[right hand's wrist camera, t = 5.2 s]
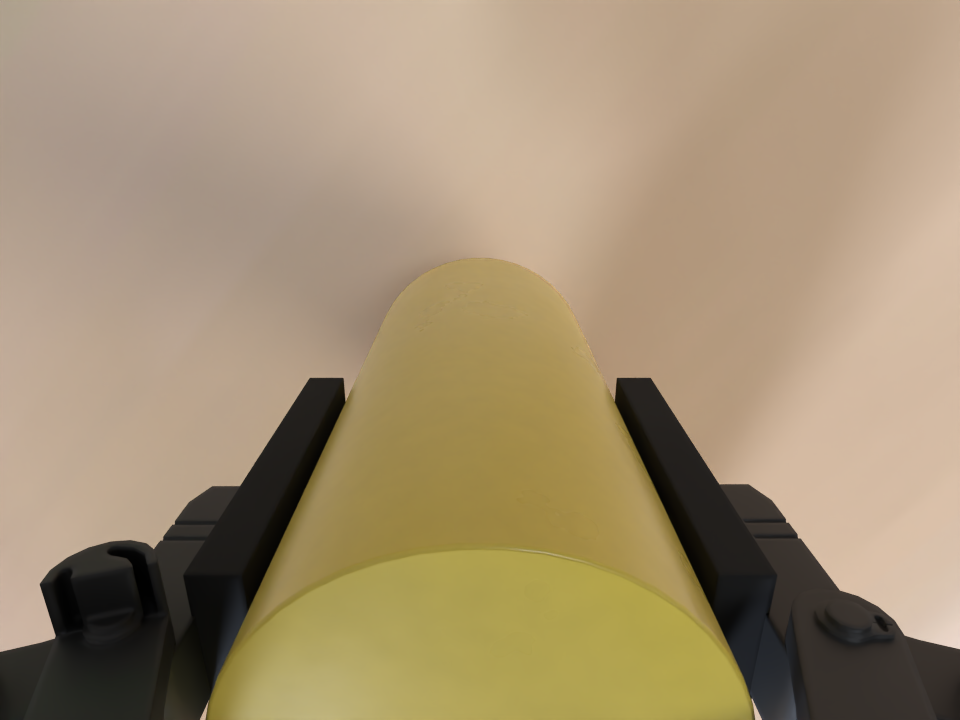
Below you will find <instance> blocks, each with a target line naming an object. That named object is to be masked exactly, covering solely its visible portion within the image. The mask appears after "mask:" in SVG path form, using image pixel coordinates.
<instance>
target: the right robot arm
mask: <svg viewBox="0 0 960 720" xmlns="http://www.w3.org/2000/svg"><path fill="white" fill-rule="evenodd" d="M615 404H616V406H617V408H618V410H619V412H620V414H621V417H622V419H623V421H624V423H625V425H626V427H627V429H628V432H629V434H630V436H631V438H632V440H633V442H634V444H635V447H636V449H637V451H638V453H639V455H640V457H641V459H642V461H643V464H644V466H645V468H646V470H647V472H648V474H649V476H650V479H651V481H652V483H653V485H654V487H655V489H656V491H657V494H658V496H659V498H660V500H661V502H662V504H663V506H664V508H665V511H666V513H667V515H668V517H669V519H670V521H671V523H672V526H673V528H674V530H675V532H676V534H677V536H678V538H679V541H680V543H681V545H682V547H683V549H684V551H685V553H686V555H687V558H688V560H689V562H690V564H691V566H692V568H693V570H694V573H695V575H696V577H697V579H698V581H699V583H700V585H701V588H702V590H703V592H704V594H705V596H706V598H707V600H708V602H709V605H710V607H711V609H712V611H713V613H714V615H715V617H716V620H717V622H718V624H719V626H720V628H721V630H722V632H723V635H724V637H725V639H726V641H727V643H728V645H729V647H730V649H731V652H732V654H733V656H734V658H735V660H736V662H737V664H738V667H739V669H740V671H741V673H742V675H743V677H744V680H745V683H746V686H747V689H748V691H749V694H750V697H751V699H753V701H754V703H755V705H756V707H757V709H758V712H759V714H760V716H761V718H762V720H960V649H956V648H952V647H947V646H943V645H938V644H934V643H930V642H925V641H921V640H917V639H914V638H910V637H907V636H904V634H903V633H902V631H901V630H900V628H899V627H898V625H897V623H896V622H895V620H893V619H892V618H891V617H890V616H889V615H887V614H886V613H885V612H884V611H883V610H881V609H880V608H879V607H878V606H876V605H874V604H872V603H870V602H868V601H866V600H864V599H862V598H861V597H859V596H856V595H852V594H849V593H846V592H843V591H840V590H839V589H838V588H837V586H836V585H835V584H834V582H833V581H832V580H831V578H830V577H829V576H828V574H827V573H826V572H825V570H824V569H823V568H822V566H821V565H820V564H819V562H818V561H817V560H816V558H815V557H814V556H813V554H812V553H811V552H810V550H809V549H808V548H807V546H806V545H805V544H804V542H803V541H802V540H801V539H798V536H797V533H796V532H795V531H794V529H793V528H792V527H791V525H790V524H789V523H786V519H785V517H784V516H783V515H782V513H781V512H780V511H779V509H778V508H777V507H776V505H775V504H774V503H773V501H772V500H770V499H769V498H767V497H766V496H765V495H763V494H762V493H760V492H759V491H757V490H756V489H754V488H753V487H751V486H750V485H749V484H719V483H718V482H717V480H716V479H715V477H714V476H713V474H712V473H711V471H710V470H709V468H708V466H707V465H706V463H705V462H704V460H703V459H702V457H701V456H700V454H699V452H698V451H697V449H696V448H695V446H694V445H693V443H692V442H691V440H690V438H689V437H688V435H687V434H686V432H685V431H684V429H683V428H682V426H681V425H680V423H679V421H678V420H677V418H676V417H675V415H674V414H673V412H672V411H671V409H670V407H669V406H668V404H667V403H666V401H665V400H664V398H663V397H662V395H661V393H660V392H659V390H658V389H657V387H656V386H655V384H654V383H653V381H652V380H651V378H617V384H616V395H615ZM344 405H345V390H344V379H343V378H310V379H309V380H308V382H307V383H306V385H305V386H304V388H303V389H302V391H301V393H300V394H299V396H298V397H297V399H296V400H295V402H294V403H293V405H292V407H291V408H290V410H289V411H288V413H287V414H286V416H285V417H284V419H283V421H282V422H281V424H280V425H279V427H278V428H277V430H276V431H275V433H274V434H273V436H272V438H271V439H270V441H269V442H268V444H267V445H266V447H265V448H264V450H263V452H262V453H261V455H260V456H259V458H258V459H257V461H256V462H255V464H254V466H253V467H252V469H251V470H250V472H249V473H248V475H247V476H246V478H245V480H244V481H243V483H242V484H241V486H212V487H211V488H209V489H208V490H206V491H205V492H203V493H202V494H201V495H199V496H198V497H196V498H195V499H193V500H192V501H190V502H189V503H188V504H187V506H186V507H185V508H184V510H183V511H182V512H181V514H180V515H179V516H178V518H177V519H176V520H175V525H172V526H171V527H170V528H169V530H168V531H167V533H166V534H165V535H164V537H163V541H160V542H159V543H158V545H157V546H156V547H155V549H153V548H151V547H150V546H149V545H148V544H147V543H142V542H137V541H132V540H127V541H113V542H108V543H104V544H100V545H96V546H93V547H89V548H87V549H85V550H83V551H80V552H78V553H76V554H74V555H72V556H70V557H68V558H66V559H65V560H64V561H62V562H61V563H59V564H58V565H57V566H55V567H54V568H53V569H51V570H50V571H49V573H48V574H47V575H46V577H45V578H44V579H43V580H42V582H41V583H40V587H41V590H42V593H43V596H44V600H45V603H46V606H47V609H48V612H49V616H50V619H51V622H52V625H53V628H54V632H55V635H56V637H55V639H52V640H49V641H45V642H42V643H38V644H33V645H29V646H25V647H20V648H16V649H12V650H7V651H3V652H0V720H200V718H201V716H202V714H203V711H204V709H205V707H206V705H207V703H208V701H209V700H210V697H211V694H212V691H213V688H214V686H215V683H216V680H217V677H218V675H219V673H220V671H221V668H222V666H223V664H224V662H225V660H226V658H227V656H228V653H229V651H230V649H231V647H232V645H233V643H234V641H235V638H236V636H237V634H238V632H239V630H240V628H241V626H242V623H243V621H244V619H245V617H246V615H247V613H248V611H249V608H250V606H251V604H252V602H253V600H254V598H255V596H256V593H257V591H258V589H259V587H260V585H261V583H262V580H263V578H264V576H265V574H266V572H267V570H268V568H269V565H270V563H271V561H272V559H273V557H274V555H275V553H276V550H277V548H278V546H279V544H280V542H281V540H282V538H283V535H284V533H285V531H286V529H287V527H288V525H289V523H290V520H291V518H292V516H293V514H294V512H295V510H296V508H297V505H298V503H299V501H300V499H301V497H302V495H303V493H304V490H305V488H306V486H307V484H308V482H309V480H310V478H311V475H312V473H313V471H314V469H315V467H316V465H317V463H318V460H319V458H320V456H321V454H322V452H323V450H324V448H325V445H326V443H327V441H328V439H329V437H330V435H331V432H332V430H333V428H334V426H335V424H336V422H337V420H338V417H339V415H340V413H341V411H342V409H343V407H344Z"/></svg>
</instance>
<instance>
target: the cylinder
mask: <svg viewBox="0 0 960 720" xmlns="http://www.w3.org/2000/svg"><path fill="white" fill-rule="evenodd" d="M206 720H755V715H754V709H753V703H752V700H751V697H750V694H749V691H748V689H747V686H746V683H745V680H744V677H743V675H742V673H741V671H740V669H739V667H738V664H737V662H736V660H735V658H734V656H733V654H732V652H731V649H730V647H729V645H728V643H727V641H726V639H725V637H724V635H723V632H722V630H721V628H720V626H719V624H718V622H717V620H716V617H715V615H714V613H713V611H712V609H711V607H710V605H709V602H708V600H707V598H706V596H705V594H704V592H703V590H702V588H701V585H700V583H699V581H698V579H697V577H696V575H695V573H694V570H693V568H692V566H691V564H690V562H689V560H688V558H687V555H686V553H685V551H684V549H683V547H682V545H681V543H680V541H679V538H678V536H677V534H676V532H675V530H674V528H673V526H672V523H671V521H670V519H669V517H668V515H667V513H666V511H665V508H664V506H663V504H662V502H661V500H660V498H659V496H658V494H657V491H656V489H655V487H654V485H653V483H652V481H651V479H650V476H649V474H648V472H647V470H646V468H645V466H644V464H643V461H642V459H641V457H640V455H639V453H638V451H637V449H636V447H635V444H634V442H633V440H632V438H631V436H630V434H629V432H628V429H627V427H626V425H625V423H624V421H623V419H622V417H621V414H620V412H619V410H618V408H617V406H616V404H615V402H614V400H613V397H612V395H611V393H610V391H609V389H608V387H607V385H606V382H605V380H604V378H603V376H602V374H601V372H600V370H599V367H598V365H597V363H596V361H595V359H594V357H593V355H592V353H591V350H590V348H589V346H588V344H587V342H586V340H585V338H584V335H583V333H582V331H581V329H580V327H579V325H578V323H577V320H576V318H575V316H574V314H573V313H572V311H571V309H570V307H569V305H568V304H567V302H566V301H565V300H564V298H563V297H562V296H561V294H560V293H559V292H558V291H557V290H556V289H555V288H554V287H553V286H552V285H551V284H550V283H548V282H547V281H546V280H545V279H543V278H542V277H541V276H539V275H537V274H536V273H534V272H532V271H531V270H529V269H527V268H524V267H522V266H520V265H517V264H514V263H511V262H507V261H503V260H497V259H490V258H471V259H463V260H457V261H453V262H449V263H446V264H443V265H441V266H438V267H436V268H433V269H431V270H430V271H428V272H426V273H424V274H423V275H421V276H420V277H418V278H417V279H416V280H414V281H413V282H412V283H410V284H409V285H408V286H407V287H406V288H405V289H404V290H403V291H402V292H401V293H400V295H399V296H398V297H397V299H396V300H395V301H394V303H393V304H392V306H391V307H390V309H389V311H388V313H387V315H386V317H385V319H384V321H383V323H382V325H381V327H380V330H379V332H378V334H377V336H376V338H375V340H374V342H373V345H372V347H371V349H370V351H369V353H368V355H367V357H366V360H365V362H364V364H363V366H362V368H361V370H360V372H359V375H358V377H357V379H356V381H355V383H354V385H353V387H352V390H351V392H350V394H349V396H348V398H347V400H346V402H345V405H344V407H343V409H342V411H341V413H340V415H339V417H338V420H337V422H336V424H335V426H334V428H333V430H332V432H331V435H330V437H329V439H328V441H327V443H326V445H325V448H324V450H323V452H322V454H321V456H320V458H319V460H318V463H317V465H316V467H315V469H314V471H313V473H312V475H311V478H310V480H309V482H308V484H307V486H306V488H305V490H304V493H303V495H302V497H301V499H300V501H299V503H298V505H297V508H296V510H295V512H294V514H293V516H292V518H291V520H290V523H289V525H288V527H287V529H286V531H285V533H284V535H283V538H282V540H281V542H280V544H279V546H278V548H277V550H276V553H275V555H274V557H273V559H272V561H271V563H270V565H269V568H268V570H267V572H266V574H265V576H264V578H263V580H262V583H261V585H260V587H259V589H258V591H257V593H256V596H255V598H254V600H253V602H252V604H251V606H250V608H249V611H248V613H247V615H246V617H245V619H244V621H243V623H242V626H241V628H240V630H239V632H238V634H237V636H236V638H235V641H234V643H233V645H232V647H231V649H230V651H229V653H228V656H227V658H226V660H225V662H224V664H223V666H222V668H221V671H220V673H219V675H218V677H217V680H216V683H215V686H214V688H213V691H212V694H211V697H210V700H209V702H208V708H207V715H206Z"/></svg>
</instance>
